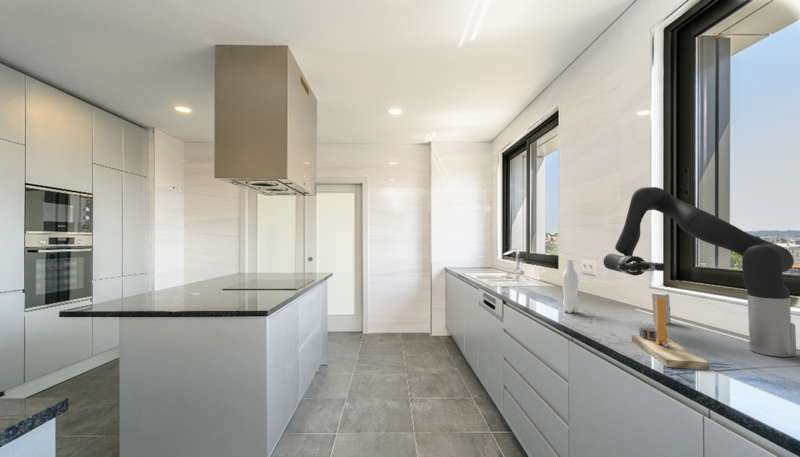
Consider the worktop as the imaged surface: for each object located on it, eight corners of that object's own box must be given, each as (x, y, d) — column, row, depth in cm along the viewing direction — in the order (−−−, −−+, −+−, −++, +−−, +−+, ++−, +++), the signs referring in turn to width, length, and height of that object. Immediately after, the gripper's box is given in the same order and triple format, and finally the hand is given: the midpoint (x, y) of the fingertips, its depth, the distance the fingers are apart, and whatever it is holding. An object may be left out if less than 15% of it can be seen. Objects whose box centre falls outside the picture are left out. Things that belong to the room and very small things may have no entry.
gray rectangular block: (659, 337, 123) (659, 328, 123) (667, 342, 117) (667, 332, 118) (639, 336, 124) (639, 327, 124) (646, 341, 119) (646, 331, 119)
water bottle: (559, 311, 177) (558, 260, 178) (571, 310, 180) (570, 259, 180) (570, 314, 171) (569, 261, 171) (582, 313, 173) (581, 260, 173)
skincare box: (665, 324, 148) (664, 295, 148) (652, 322, 152) (651, 293, 152) (671, 322, 152) (670, 293, 152) (659, 320, 155) (658, 292, 156)
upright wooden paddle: (661, 339, 120) (659, 294, 120) (675, 347, 110) (674, 299, 111) (646, 338, 121) (645, 294, 121) (660, 347, 111) (658, 299, 112)
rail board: (664, 342, 124) (664, 336, 124) (709, 369, 98) (708, 362, 99) (631, 340, 126) (631, 335, 126) (667, 367, 101) (666, 359, 101)
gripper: (611, 256, 147) (625, 257, 131) (651, 255, 143) (670, 257, 128) (612, 274, 146) (626, 278, 131) (652, 274, 143) (672, 278, 127)
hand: (648, 268), depth 129 cm, fingers open, 8 cm apart
